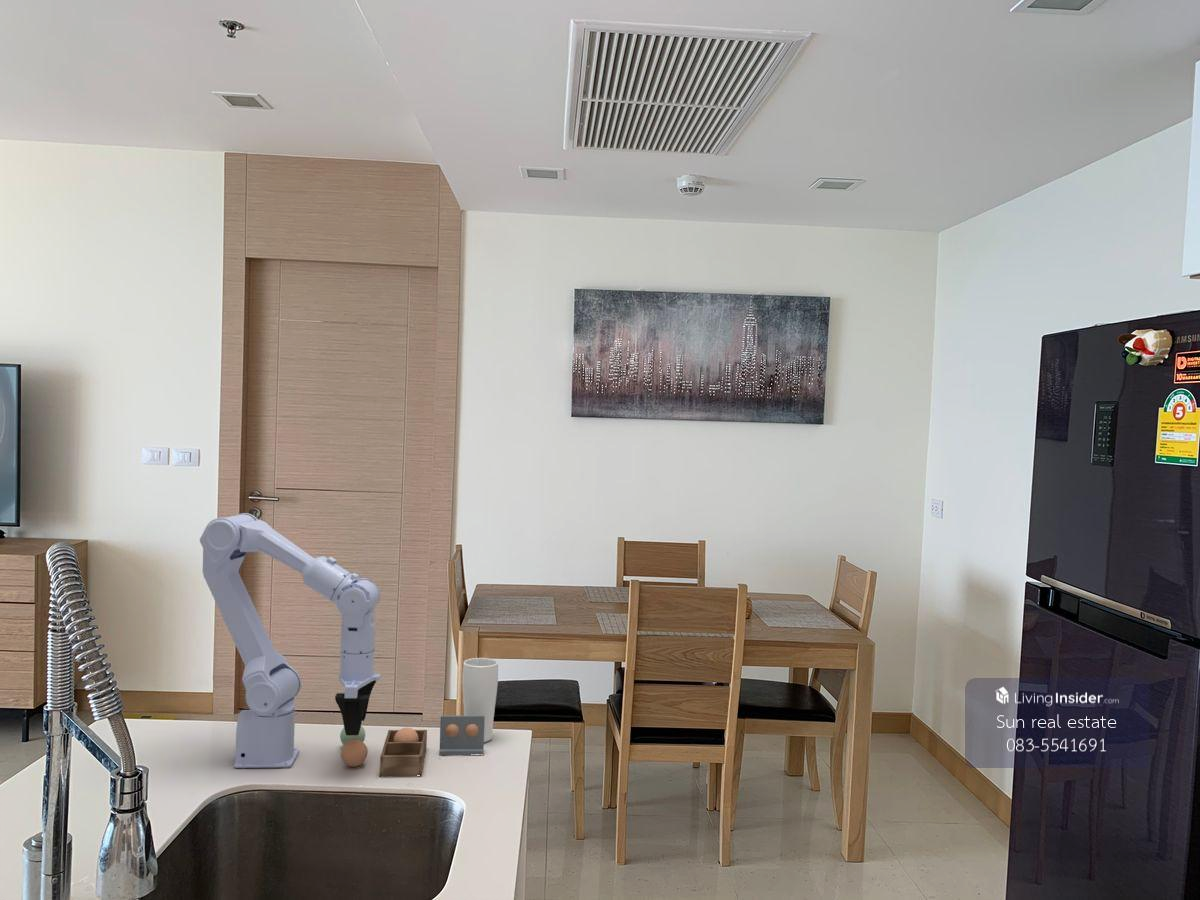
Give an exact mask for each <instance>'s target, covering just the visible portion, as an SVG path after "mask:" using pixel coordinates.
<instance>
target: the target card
mask: <svg viewBox="0 0 1200 900" xmlns="http://www.w3.org/2000/svg"><path fill="white" fill-rule="evenodd" d="M484 720H485V715H464V714H463V715H460V714H459V715H440V722H439V723H440V724H439V725H440V727H439V751H438V756H439V755H463V756H472V755H471V754H483V755H484V744H485V742H484Z"/></svg>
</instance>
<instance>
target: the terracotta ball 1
mask: <svg viewBox="0 0 1200 900" xmlns="http://www.w3.org/2000/svg"><path fill="white" fill-rule="evenodd" d="M368 752H369V750H368V746H367V745H366V744H365V743H364V742H362V741H360V740H351V741H348V742H347V743H346V744H345V745H343V746H342V748H341V752H340V757H341V760H342V762H343V763H344V764H345V765H346V766H348V767H353V768H354V767H359V766H360V765H362V764H363V763H364V762H365V761H366V759H367V757H368Z"/></svg>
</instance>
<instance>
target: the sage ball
mask: <svg viewBox="0 0 1200 900" xmlns="http://www.w3.org/2000/svg"><path fill="white" fill-rule="evenodd" d="M339 734H340V735H339V736H340V742H341V743H342V745H343V746H344V745H345V744H346V743H347V742H348V741H351V740H360V741H362V742H363V743H364V742H365V740H366V739H365V738H366V731H365V727H363V725H361V728H360V732H359V734H358V735H346V733H345V729H344V727H343V728H342V729H341V731H340V733H339Z"/></svg>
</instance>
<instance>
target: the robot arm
mask: <svg viewBox="0 0 1200 900" xmlns="http://www.w3.org/2000/svg"><path fill="white" fill-rule="evenodd" d="M199 543H200V545H201V548H202V575H203V578H204V580H205V581H206V584H207V586H208V589H209V591H210V593H211V595H212V597H213V600H214V601H215V603H216V606H217V608H218V610H219V612H220V614H221V617H222V619H223V620H224V623H225V625H226V627H227V631H228V632H229V634H230V636H231V638H232V640H233V643H234V645H235V647H236V649H237V651H238V653H239V655H240V658H241V660H242V663H244V670H243V674H242V679H241V681H242V683H243V686H244V689H245V702H246V704H247V706H248V708H249V709H243V710H241V711H240V713H239V715H238V717H237V722H236V730H235V760H234V761H235V762H234V765H233V768H235V769H236V768H237V769H238V768H239V769H240V768H241V769H242V768H244V769H246V768H248V769H249V768H253V769H254V768H259V769H260V768H291V767H293V764H294V763H295V760H296V758H297V757H298V755H299V754H300V748H295V727H296V726H295V723H296V722H295V720H296V704H295V698H296V697H297V696H298V695H299V693H300V691H301V688H302V679H301V677H300V674H299V673H298V672H297V670H295V669H294V668H293V667H292V666H291V665H290V664H289V663H288V660H287V657H285V656H284V655H282V654H280V653H279V652H278V651H277V650H275V647H274V646H273V644H272V642H271V639H270V638H269V635H268V632H267V631H266V629H265V626H264V625H263V622H262V620H261V618H260V615H259V613H258V612H257V609H256V607H255V605H254V603H253V600H252V598H251V596H250V594H249V592H248V590H247V587H246V586H245V583H244V581H243V579H242V577H241V575H240V572H239V570H240V567H241V565H242V564H243V562H244V560H245V557H246V555H247V554H249V553H254V552H255V553H256V552H257V553H258V552H261V553H263V554H264V553H265V554H266V555H267V556H270V557H272V558H273V559H275V560H277V561H278V562H280V563H282V564H284V565H285V566H287V567H289V568H291V569H292V570H294V571H296V572H298V573H300V574H301V576H302V580H303V584H304V585H306V586H307V587H309V588H311V589H312V590H313V591H315V592H317V593H318V594H320V595H321V596H322V597H324V598H326V599H327V600H329V601H330V602H332V603H334V604H336V608H337V610H338V611H339V613H340V614H341V627H340V657H339V662H340V663H339V674H338V681H339V683H340V684H341V685H342V687H343V688H344V692H341V693H340V692H337V693H336V694H335V696H334V697H335V698H334V699H335V702H336V705H337V706H338V708H339V710H340V714H341V717H342V721H343V722H342V723H343V728H344V729H345V733H346V735H358V734H359V732H360V728H361V726H362V722H364V721H365V720H366V717H367V713H368V706H369V702H370V699H371V698H370V697H371V694H372V690H373V688H374V686H375V684H376V683H377V681H380V680H381V678H382V677H381V673H375V672H374V671H375V641H376V639H375V638H376V637H375V635H376V621H375V620H376V609H374V608H375V607H377V606H378V604H379V602H380V599H381V593H380V589H379V587H378V586H377V584H376V583H374V582H373V580H371V579H370V578H365V577H362V578H359V577H360V575H359V574H357V573H356V572H353V573H351V572H349V571H348V570H346V569H345V568H343V567H341V566H340V565H338V564H337V559H335V558H334V557H333V556H330V557H326V556H324V555H323V556H318V557H314V556H312V555H310V554H309V553H307V552H306V551H304V550H303V549H302V548H300V547H299V546H298V545H296V544H295V543H294V542H292V541H291V540H289V539H288V538H286V537H285V536H284V535H282V534H281V533H279V532H277V531H276V530H275V529H274V528H273V527H271V525H269V523H267V522H266V521H264V520H262V519H258V518H257V517H256V516H255V515H253V514H251V513H248V512H243V513H238V514H235V515H231V516H226V517H216V518H214V519H212V520H210V521H209V522H208V523H207V525H206V526H205V528H204V530H203V532H202V534H201V536H200V538H199Z"/></svg>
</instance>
